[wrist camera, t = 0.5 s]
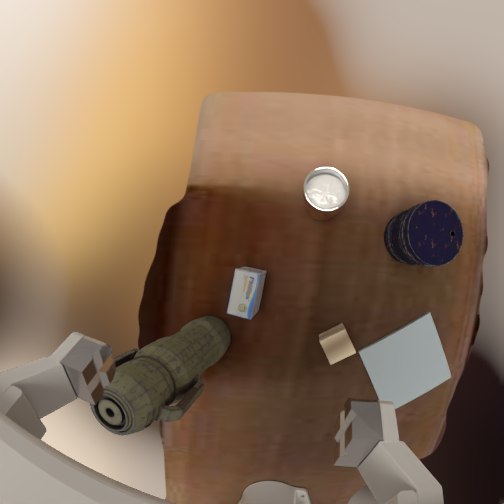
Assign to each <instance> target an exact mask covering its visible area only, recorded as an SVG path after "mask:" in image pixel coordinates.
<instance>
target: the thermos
mask: <svg viewBox="0 0 504 504" xmlns="http://www.w3.org/2000/svg"><path fill="white" fill-rule="evenodd" d="M230 342H231V333H230V330H229V328H228V326H227V325H226V324H225V322H224V321H223V320H221V319H219V318H218V317H215V316H203V317H200V318H197V319H195V320H193V321H191V322H189V323H187V324H186V325H185V326H183V327H182V328H181V331H179V332H177V333H176V334H174V335H172V336H170V337H164V338H161V339H158V340H156V341H155V342H153V343H151V344H149V345H147V346H145V347H143V348H142V349H140V350H138V349H133V350H130V351H127V352H125V353H123V354H121V355H119V356H117V357H115V358H113V360H114V361H115V365H116V372H115V375H114V379H113V380H112V382H111V383H110V384H109V385H107V386H105V387H103V388H104V394H103V395H102V397H101V398H100V399H99V401H98V402H97V404H96V405H94V404H91V403H90V405H91V409H92V412H93V414H94V416H95V417H96V419H97V420H98V421H99V423H100V424H101V425H102V426H103V427H105V428H106V429H107V430H109V431H110V432H112V433H115V434H118V435H127V434H131V433H135V432H138V431H141V430H143V429H145V428H147V427H148V426H149V425H150V424H151V423H152V422H154V420H156V421H157V420H158V419H161V420H163V421H166V422H170V421H176V420H179V419H180V418H181V417H182V416H183V415H184V413H185V412H186V411H187V410H188V409H189V407H190V406H191V405H192V404H193V403H194V401H195V400H196V399H197V398H198V397H199V396H200V395H201V393H202V390H203V386H204V383H203V382H202V381H201V379H200V377H201V374H202V373H203V372H204V371H205V370H206V369H207V368H208V367H209V366H212V365H214V364H215V363H216V362H218V361H219V360H220V358H221V357H222V356H223V355H224V354H225V352H226V350H227V349H228V347H229V346H230ZM180 400H181V401H180ZM178 401H180V402H179V403H178V404H177V405H176V406H170V407H169V405H170V404H173V403H177V402H178Z"/></svg>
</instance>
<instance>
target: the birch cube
mask: <svg viewBox="0 0 504 504" xmlns="http://www.w3.org/2000/svg"><path fill="white" fill-rule="evenodd" d="M319 342H320V344H321V346H322V348H323V350H324V352H325V354H326V356H327V358H328V360H329V362H330V364H331V365H332V364H334V363H336V362H338V361H340V360H342V359H344V358H346V357H348V356H350V355H353V354H355V353H356V351H355V349H354V347H353V345H352V342H351V340H350V338H349V336H348V334H347V332H346V329H345V327H344V325H343V323H341V324H339V325H337V326H335V327H333V328H331V329H329V330H327V331H325V332H323V333H321V334H319Z"/></svg>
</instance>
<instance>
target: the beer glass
mask: <svg viewBox="0 0 504 504" xmlns="http://www.w3.org/2000/svg"><path fill="white" fill-rule="evenodd" d="M348 196H349V183H348V180H347V178H346V177H345V175H344V174H343V173H342V172H341V171H339V170H338V169H336V168H333V167H330V166H322V167H318V168H316V169H314V170H312V171H311V172H310V173H309V174H308V175H307V177H306V179H305V182H304V186H303V199H304V203H305V205H306V207H307V211H308V213H309V214H310V215H311V216H312V217H313V218H314V219H316V220H319V221H327V220H330V219H331V218H333V217H334V216H335V215H336V214H337V213H339V212H340V211H341V210H342V209H343V208H344V206H345V204H346V202H347V199H348Z"/></svg>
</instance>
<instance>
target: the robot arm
mask: <svg viewBox="0 0 504 504" xmlns="http://www.w3.org/2000/svg"><path fill="white" fill-rule="evenodd" d="M111 353H112V350H111V347H110V345H108V344H105V343H103V342H100V341H98V340H95V339H93V338H90V337H88V336H85V335H83V334H81V333H78V332H74V333H72V334H71V335H70V336H69V337H68V338H67V339H66V340H65V341H64V342H63V343H62V344H61V345H60V346H59V347H58V348H57V350H56V351H55V352H54V353H53V354H52V355H51V356H50V357H47V356H46V357H43V358H40V359H38V360H35V361H32V362H29V363H27V364H24V365H21V366H18V367H15V368H12V369H9V370H6V371H3V372H1V373H0V504H176V503H173V502H170V501H167V500H164V499H160V498H158V497H155V496H152V495H150V494H147V493H144V492H141V491H139V490H137V489H134V488H131V487H129V486H127V485H125V484H122V483H120V482H118V481H115V480H113V479H111V478H109V477H107V476H105V475H102V474H100V473H98V472H96V471H94V470H92V469H90V468H88V467H86V466H84V465H83V464H81V463H79V462H77V461H75V460H73V459H72V458H70V457H68V456H66V455H64V454H63V453H61V452H59V451H58V450H56V449H54V448H53V447H51V446H49V445H48V444H46V443H45V442H43V441H42V440H41V438H42V437H43V435H44V434H45V432H46V428H45V426H44V425H43V423H42V422H41V420H40V418H42V417H44V416H46V415H48V414H50V413H52V412H54V411H55V410H57V409H59V408H61V407H63V406H65V405H66V404H68V403H70V402H72V401H74V400H75V399H77V397H78V398H80V399H82V400H84V401H87V402H89V403H91V404H94V405H96V404H97V402H98V401H99V399H100V398H101V397H102V395H103V394H104V388H103V387H105V386H107V385H109V384H110V383H111V382H112V380H113V379H114V375H115V372H116V365H115V361H114V360H113V359H112V357H111V356H110V355H111ZM334 438H335V439H336V441H337V442H338V443H337V445H336V447H335V448H334V465H336V466H348V467H358V468H357V469H358V470H359V472H360V474H361V475H362V477H363V479H364V481H365V482H366V484H367V486H368V487H369V489H370V491H371V492H372V494H373V495H374V497H375V499H376V501H377V502H378V504H444V502H443V494H442V487H441V485H440V484H439V483H438V482H437V480H436V479H435V478H434V477H433V476H432V474H431V473H430V472H429V471H428V470H427V469H426V467H425V466H424V465H423V464H422V463H421V462H420V460H419V459H418V458H417V457H416V456H415V455H414V453H413V452H412V451H411V450H410V449H409V448H408V446H407V445H406V444H405V443H404V442H402V441H399V435H398V428H397V421H396V414H395V408H394V404H393V402H392V401H377V400H366V399H353V398H349V399H348V400H347V401H346V403H345V405H344V411H342V412H341V413H340V414H339V416H338V418H337V422H336V426H335V436H334ZM237 504H311V501H310V498H309V495H308V491H307V490H306V489H304V488H298V487H292V486H290V485H287V484H285V483H281V482H276V481H261V482H256V483H254V484H251V485H249V486H248V487H247V488H246V489H245V490H244V492H243V495H242V499H241V500H240V501H239V502H238V503H237ZM503 504H504V503H503Z"/></svg>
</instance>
